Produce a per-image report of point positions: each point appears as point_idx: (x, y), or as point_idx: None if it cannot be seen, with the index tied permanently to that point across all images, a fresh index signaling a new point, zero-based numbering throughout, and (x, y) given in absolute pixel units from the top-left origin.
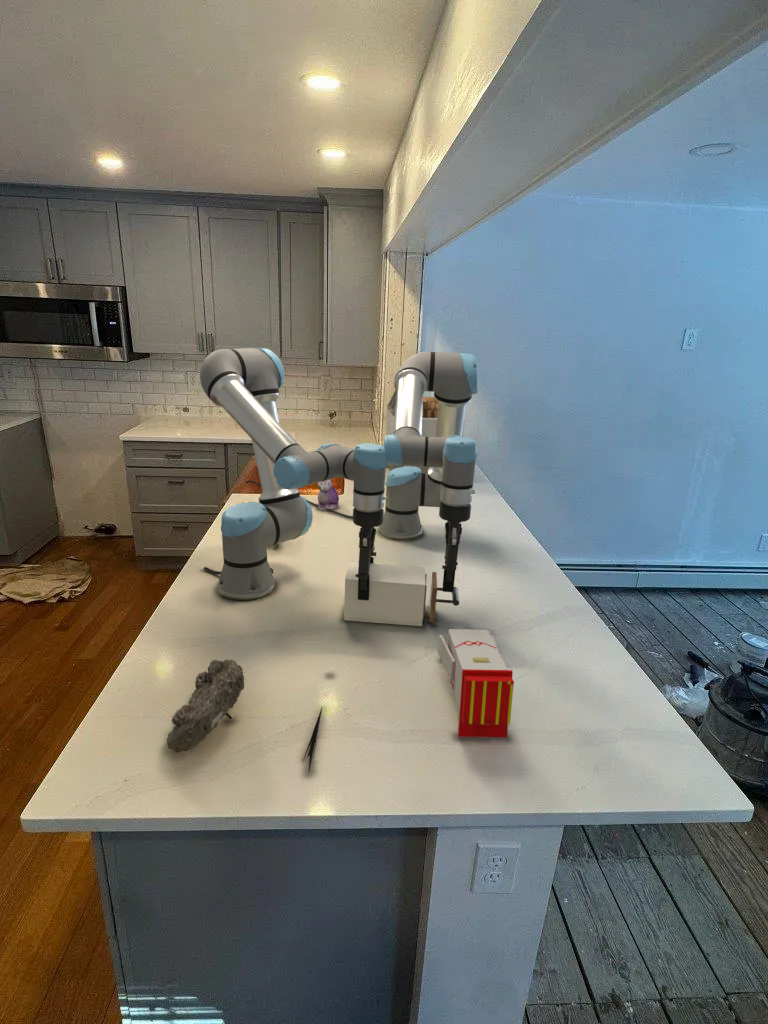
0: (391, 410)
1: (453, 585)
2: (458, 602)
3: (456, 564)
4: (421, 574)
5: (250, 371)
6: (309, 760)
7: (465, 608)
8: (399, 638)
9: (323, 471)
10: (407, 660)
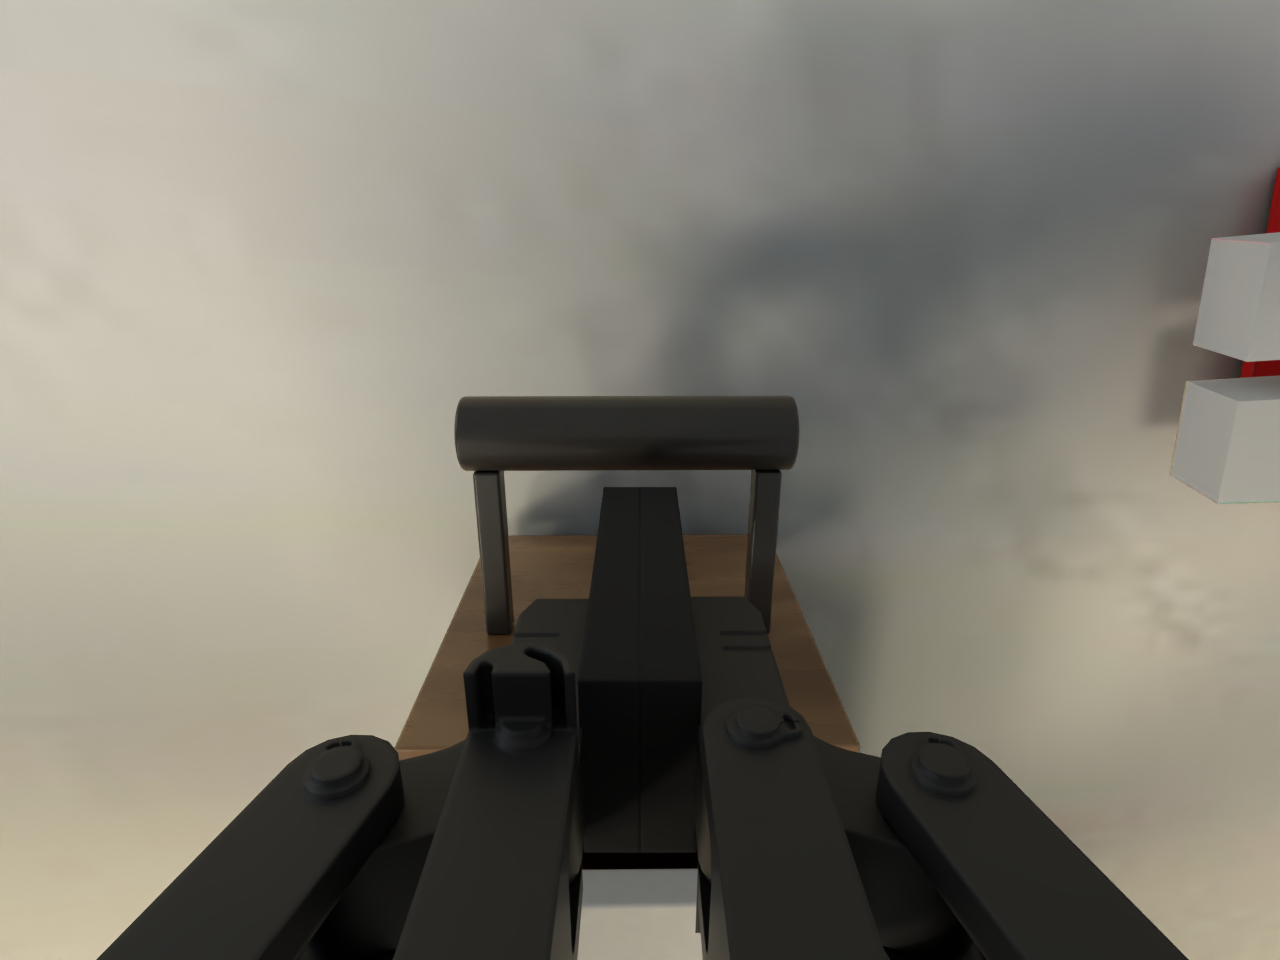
0: None
1: (681, 529)
2: (796, 409)
3: (571, 688)
4: (605, 944)
5: None
6: None
7: (429, 253)
8: (932, 725)
9: None
10: (1180, 674)
